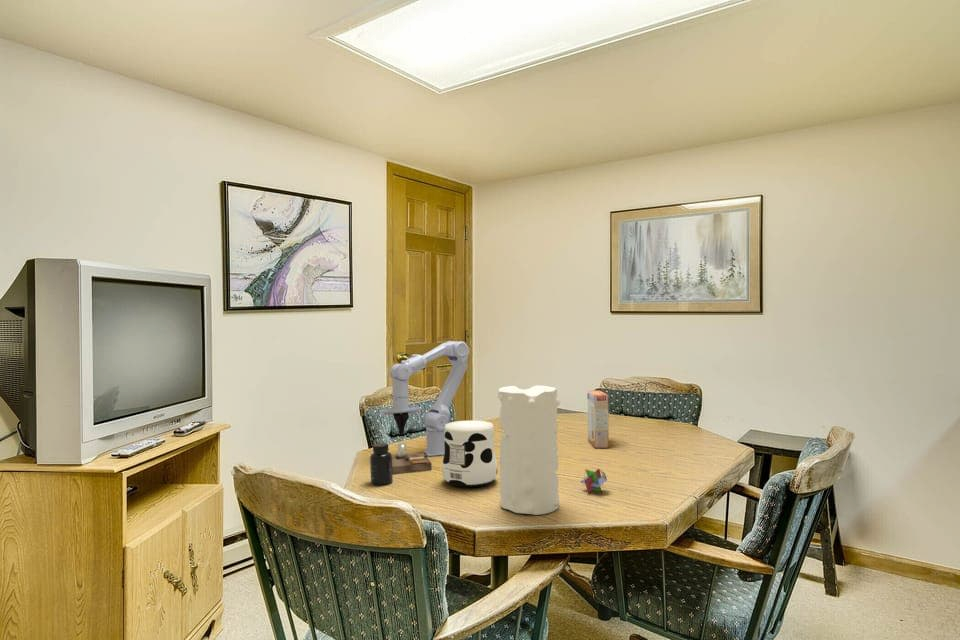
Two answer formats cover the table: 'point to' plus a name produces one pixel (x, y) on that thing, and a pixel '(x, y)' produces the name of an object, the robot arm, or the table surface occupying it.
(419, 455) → the brown board with hole
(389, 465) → the supplement bottle
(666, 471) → the table surface
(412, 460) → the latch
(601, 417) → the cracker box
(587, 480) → the geometric puzzle
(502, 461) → the vase
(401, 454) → the steel pin
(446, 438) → the milk container
